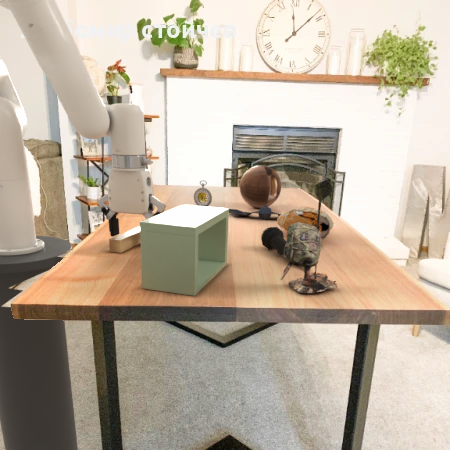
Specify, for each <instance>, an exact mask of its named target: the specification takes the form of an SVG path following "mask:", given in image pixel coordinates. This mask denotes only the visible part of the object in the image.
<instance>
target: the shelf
mask: <svg viewBox="0 0 450 450" xmlns="http://www.w3.org/2000/svg"><path fill="white" fill-rule="evenodd" d="M229 209H230V208H227V207H218V206H217V207H216V206H198V205H197V204H196V205H194V204H183V203H182V204H180V205H178V206H176V207H173V208H171V209H168V210H166V211H164V212H163V213H161V214H158V215H156V216H153V217H151V218H148V219H146V218H145V219H143V220H141V221H139V226H140V240H141V243H140V267H141V270H140V271H141V289H143V290H151V291H158V292H164V293H171V294H178V295H185V296H192V297H196V295H197V294H199V292H200V291H201V290H202V289H203V288H204V287H205V286H207V284H208V283H209V282H211V281H212V280H213V279H214V278H215V277H216V276H217V275H218V274H219V273H220V272H221V271H222V270H223V269H224V268H225V267H226V266H227V265H228V241H229V239H228V238H229V219H230V218H229V214H230V213H229Z"/></svg>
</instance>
